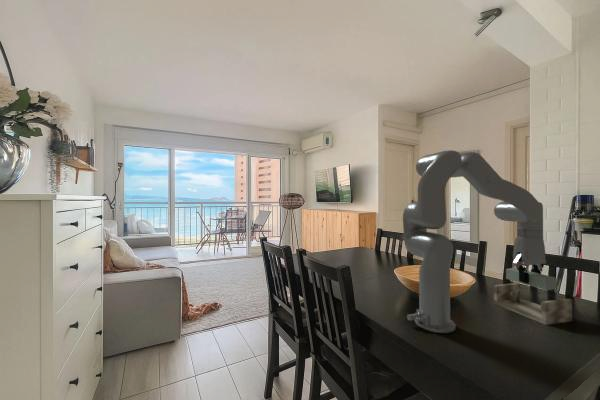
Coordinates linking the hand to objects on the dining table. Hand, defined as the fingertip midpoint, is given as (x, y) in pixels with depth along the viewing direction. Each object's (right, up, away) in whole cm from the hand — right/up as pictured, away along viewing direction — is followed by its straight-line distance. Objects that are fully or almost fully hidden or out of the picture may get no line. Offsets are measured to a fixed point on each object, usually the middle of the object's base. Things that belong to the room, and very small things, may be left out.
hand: (529, 281), depth 100 cm
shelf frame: (0, -12, 0) cm, 12 cm away
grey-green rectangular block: (0, -1, 0) cm, 1 cm away
